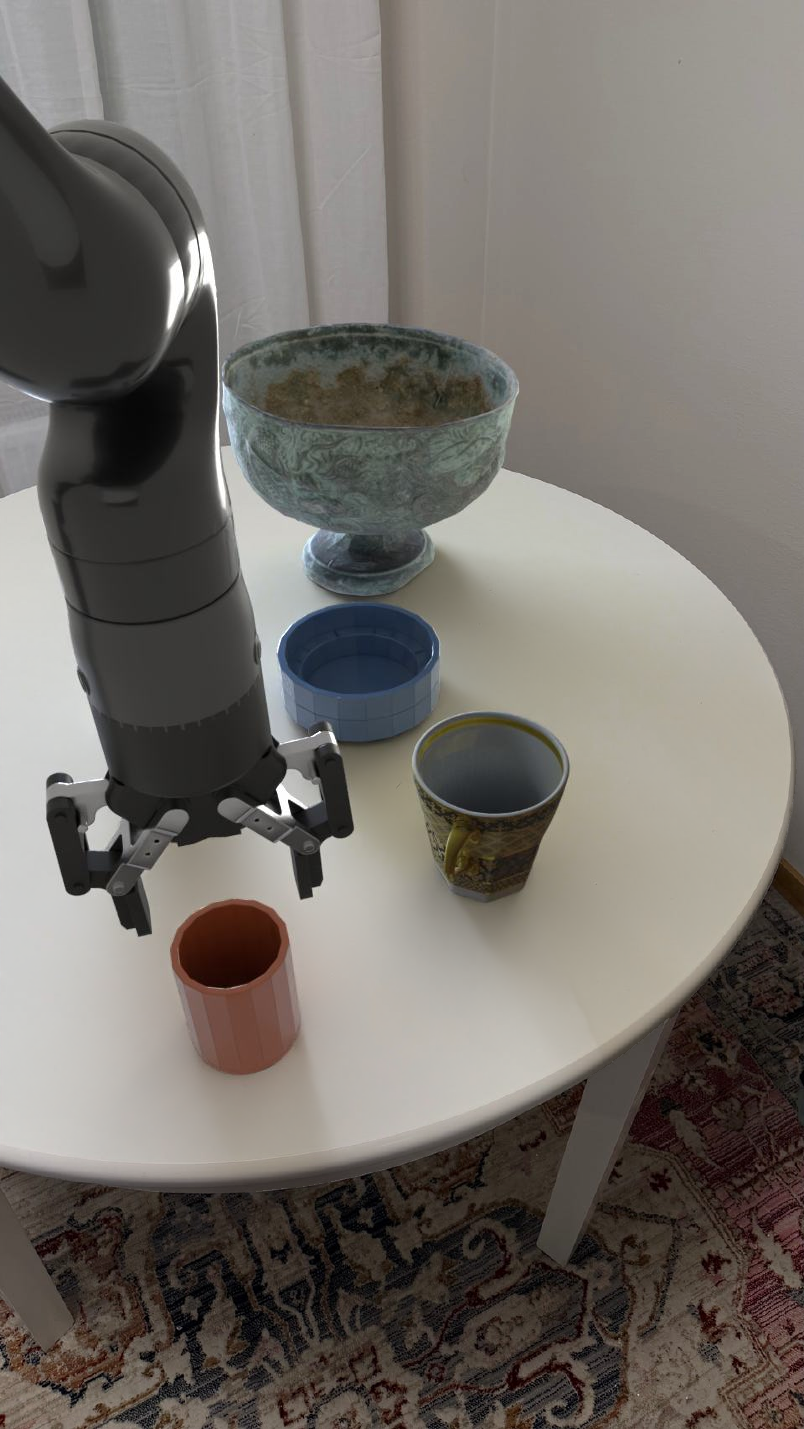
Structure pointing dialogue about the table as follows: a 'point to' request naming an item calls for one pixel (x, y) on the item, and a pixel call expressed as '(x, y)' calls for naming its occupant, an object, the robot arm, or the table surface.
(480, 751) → the ceramic cup
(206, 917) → the cup
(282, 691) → the bowl
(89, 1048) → the table surface
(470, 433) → the decorative bowl
